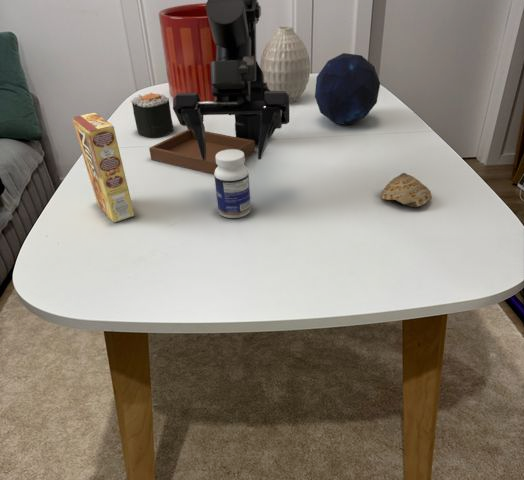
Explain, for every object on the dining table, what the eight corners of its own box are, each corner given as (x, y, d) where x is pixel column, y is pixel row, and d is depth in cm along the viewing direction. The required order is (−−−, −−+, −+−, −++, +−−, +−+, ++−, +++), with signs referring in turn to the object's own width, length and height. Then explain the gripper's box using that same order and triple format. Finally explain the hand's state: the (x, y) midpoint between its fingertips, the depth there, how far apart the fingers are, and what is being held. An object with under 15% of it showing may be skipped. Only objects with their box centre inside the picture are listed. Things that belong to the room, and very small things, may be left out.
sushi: (157, 123, 125) (151, 88, 120) (179, 130, 121) (174, 94, 116) (131, 133, 121) (123, 97, 116) (153, 140, 117) (147, 103, 111)
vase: (310, 106, 131) (312, 31, 120) (261, 108, 131) (258, 33, 120) (308, 92, 141) (309, 21, 130) (261, 94, 141) (259, 23, 130)
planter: (243, 108, 132) (237, 16, 118) (159, 107, 135) (144, 18, 122) (259, 84, 149) (256, 1, 135) (184, 84, 152) (174, 3, 139)
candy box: (136, 216, 88) (115, 124, 78) (112, 223, 86) (88, 130, 76) (117, 199, 94) (96, 111, 84) (95, 205, 92) (70, 116, 82)
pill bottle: (218, 205, 90) (212, 149, 83) (250, 203, 90) (246, 146, 84) (218, 220, 86) (212, 162, 79) (252, 218, 86) (248, 159, 79)
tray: (191, 139, 116) (190, 128, 114) (255, 152, 108) (254, 140, 107) (151, 159, 108) (149, 147, 106) (217, 175, 100) (216, 162, 98)
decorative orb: (349, 115, 108) (377, 42, 105) (293, 103, 116) (318, 35, 113) (373, 140, 120) (399, 76, 117) (321, 129, 128) (344, 68, 125)
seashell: (408, 204, 83) (381, 170, 85) (395, 228, 88) (370, 195, 90) (446, 192, 85) (419, 160, 88) (431, 216, 90) (406, 184, 93)
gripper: (165, 36, 77) (162, 136, 76) (288, 32, 75) (287, 133, 74) (182, 80, 88) (179, 167, 87) (290, 77, 87) (288, 166, 86)
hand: (231, 158), depth 83 cm, fingers open, 9 cm apart
